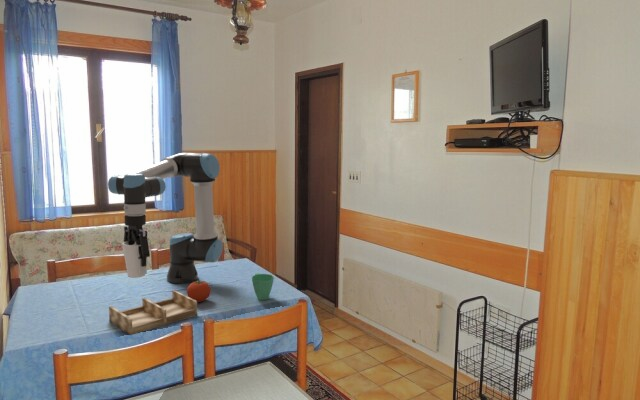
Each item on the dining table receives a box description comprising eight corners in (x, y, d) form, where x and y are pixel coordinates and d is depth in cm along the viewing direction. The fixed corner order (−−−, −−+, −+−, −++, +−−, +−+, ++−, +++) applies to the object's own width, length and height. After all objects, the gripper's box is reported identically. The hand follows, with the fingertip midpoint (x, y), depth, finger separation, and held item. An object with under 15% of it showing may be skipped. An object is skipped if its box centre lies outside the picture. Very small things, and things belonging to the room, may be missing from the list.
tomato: (214, 303, 201) (213, 281, 200) (190, 307, 196) (190, 284, 194) (206, 295, 210) (206, 274, 208) (184, 299, 204) (183, 278, 203)
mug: (276, 300, 206) (276, 279, 204) (255, 303, 202) (255, 281, 200) (266, 290, 219) (266, 270, 218) (246, 292, 215) (246, 272, 214)
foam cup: (124, 272, 180) (123, 240, 178) (149, 271, 183) (148, 239, 181) (122, 280, 171) (121, 246, 169) (149, 278, 174) (148, 244, 172)
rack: (109, 321, 179) (108, 306, 178) (174, 303, 199) (174, 290, 199) (129, 335, 167) (129, 319, 166) (197, 315, 187) (196, 301, 186)
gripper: (112, 211, 178) (114, 267, 181) (139, 219, 164) (141, 279, 166) (131, 210, 184) (132, 264, 187) (159, 217, 169) (160, 275, 172)
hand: (136, 271), depth 177 cm, fingers closed on foam cup, 9 cm apart
